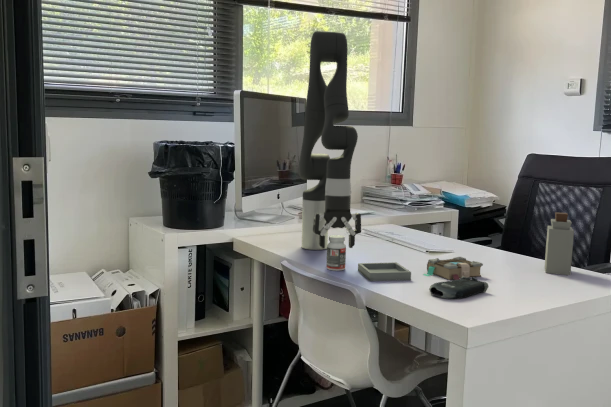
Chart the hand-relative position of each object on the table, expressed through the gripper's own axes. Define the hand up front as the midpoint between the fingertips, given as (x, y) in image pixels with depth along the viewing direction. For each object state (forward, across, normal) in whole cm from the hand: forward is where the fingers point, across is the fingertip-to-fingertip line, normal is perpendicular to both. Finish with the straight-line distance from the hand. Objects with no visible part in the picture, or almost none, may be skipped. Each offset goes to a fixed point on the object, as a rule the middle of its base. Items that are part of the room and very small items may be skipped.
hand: (336, 247), depth 171 cm
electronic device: (+8, -25, +28) cm, 39 cm away
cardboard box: (+7, -32, +11) cm, 35 cm away
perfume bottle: (+7, -67, +10) cm, 68 cm away
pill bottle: (+7, 0, 0) cm, 7 cm away
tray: (+7, -12, +8) cm, 16 cm away
